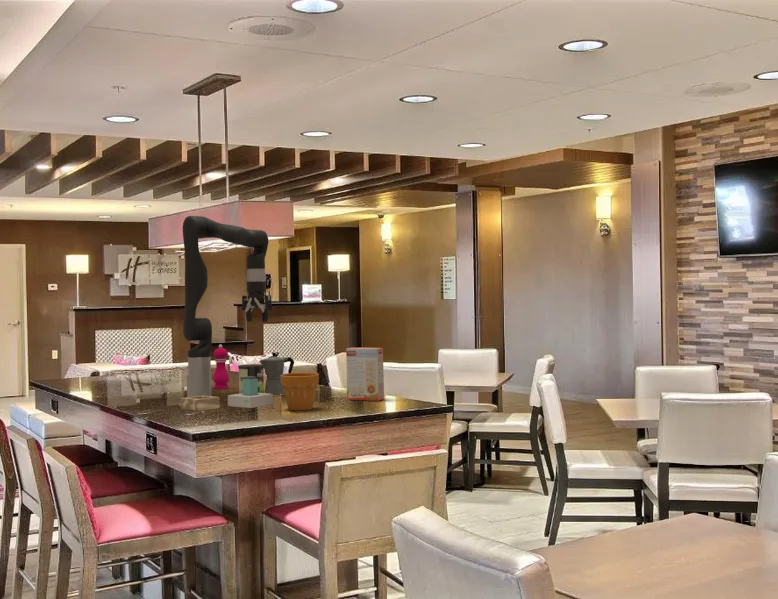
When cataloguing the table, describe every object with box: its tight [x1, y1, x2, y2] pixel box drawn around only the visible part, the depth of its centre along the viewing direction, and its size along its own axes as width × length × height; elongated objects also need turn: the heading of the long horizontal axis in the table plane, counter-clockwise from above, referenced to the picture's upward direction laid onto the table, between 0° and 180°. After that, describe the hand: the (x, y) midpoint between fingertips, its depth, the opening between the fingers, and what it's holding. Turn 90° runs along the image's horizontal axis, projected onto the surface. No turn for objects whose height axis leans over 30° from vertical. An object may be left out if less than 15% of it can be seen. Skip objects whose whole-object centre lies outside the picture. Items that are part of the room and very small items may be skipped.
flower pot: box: [281, 372, 320, 411], centre depth 339 cm, size 14×14×13 cm
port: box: [227, 393, 274, 409], centre depth 345 cm, size 12×12×5 cm
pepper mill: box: [212, 344, 230, 390], centre depth 413 cm, size 7×7×20 cm
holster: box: [180, 395, 221, 412], centre depth 338 cm, size 10×10×5 cm
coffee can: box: [237, 363, 265, 394], centre depth 370 cm, size 10×10×14 cm
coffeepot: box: [258, 351, 295, 395], centre depth 386 cm, size 15×9×18 cm, turn 113°
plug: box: [243, 376, 258, 396], centre depth 345 cm, size 4×4×11 cm
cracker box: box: [345, 347, 385, 402], centre depth 364 cm, size 14×6×21 cm, turn 65°
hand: (256, 321), depth 359 cm, fingers open, 8 cm apart
